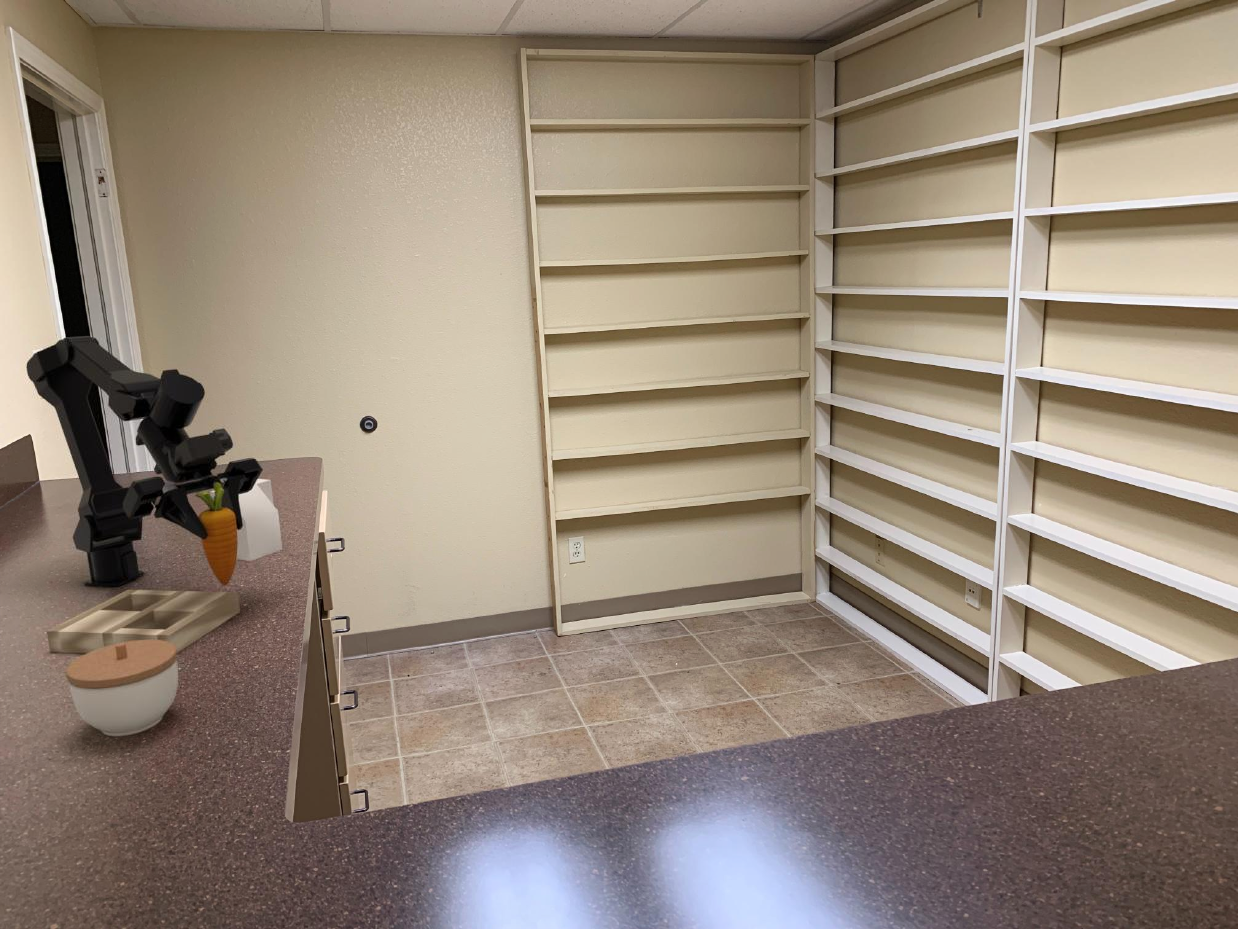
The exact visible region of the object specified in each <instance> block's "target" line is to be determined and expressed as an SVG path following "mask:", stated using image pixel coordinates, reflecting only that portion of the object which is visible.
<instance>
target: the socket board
mask: <svg viewBox="0 0 1238 929" xmlns="http://www.w3.org/2000/svg"><path fill="white" fill-rule="evenodd" d="M240 606H241V605H240V600H239V592H237V591H236V592H232V591H197V590H196V591H195V590H193V591H192V590H191V591H190V590H189V591H188V590H187V591H186V590H158V589H156V590H154V589H153V590H151V589H148V590H147V589H127V590H125V591H122V592H121V593H119V594H117V595H115V596H113V597H111V598H109V599H107V600H105V601H103V602H101V603H99V604H97V605H95V606H94V607H90V608H89V609H88V610H85V611H83V612H82V613H80V614H78V615H76V616H74V617H72V618H69V619H68V620H66V621H64V622H61V623H60V624H58V625H56V626H54V627H52V628H50V629H47V630H46V636H47V641H48V646H49V652H50V653H68V654H87V653H89V652H92V651H94V650H97V649H100V648H103V647H106V646H109V645H113V644H118V643H122V642H128V641H136V640H162V641H167V642H170V643H172V644H173V645H174V646H175V647H176V650H177V654H178V653H180V652H181V651H184V649H186V648H188V647H189V646H190V645H192V644H193V643H195V642H196V641H198V640H200V639H201V638H202V637H204V636H206V635H207V634H209V633H210V632H212V631H213V630H215V629H216V628H218V627H219V626H221V625H223V624H224V623H225V622H226V621H229V620H230V619H231V618H233V617H234V616H236V615H237V614H239V613H240V612H241V607H240Z"/></svg>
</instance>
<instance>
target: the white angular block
mask: <svg viewBox="0 0 1238 929" xmlns="http://www.w3.org/2000/svg"><path fill="white" fill-rule="evenodd" d="M209 494H210V496H211V497H212V498H213V501H214V496H215V491H214V490H212V491H211V490H210V491H209ZM239 504H240V510H241V516H242V523H243V527H242V528H241V530H238V529H237V541H238V545H237V558H236V560H240V561H247V562H253V561H254V560H257V559H260V558H262V557H266V556H268V555H271V554H275V553H276V552H279V551H282V550H283V543H282V535H281V534H282V533H281V526H280V517H279V510H278V509H277V508H276V507H275V505H274V498H273V487H272V479H266V478H265V479H263V478H258V479H257V481H256V483H255V485H254V486H253V488H252V490H250V491H249V492H247V493H243V494H239Z"/></svg>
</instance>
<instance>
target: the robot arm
mask: <svg viewBox="0 0 1238 929" xmlns="http://www.w3.org/2000/svg"><path fill="white" fill-rule="evenodd" d="M26 373H27V376H28V379H29V380H30V381H31V382H32V383H33V385H34V388H35V390H36V393H37V394H38V396H40V398H42V399H43V400H45V401H46V402H47V403H48V404H49V405H51V406H52V407H53V408H54V410H55V413H56V414H57V418H58V420H59V424H60V427H61V430H62V432H63V435H64V438H65V441H66V443H67V447H68V450H69V453H70V455H71V459H72V462H73V464H74V468H75V471H76V473H77V476H78V479H79V483H80V485H81V489H82V494H81V498H80V501H79V504H78V508H77V512H78V518H79V520H78V522H77V524H76V527H75V529H74V532H73V535H72V540H73V543H74V545H75V546H74V547H75V549H76V550H78V551H82V552H85V553H86V557H87V561H88V562H87V563H88V568H89V575H90V579H88V580H87V581H84V582H83V583H84V586H94V587H95V586H97V587H99V586H100V587H101V586H102V587H103V586H104V587H118V586H119V587H120V586H121V585H124V584H126V583H128V582H130V581H132V580H134V579H136V578H138V577H140V576H142V575H144V574H145V572H144V570H139V564H138V556H137V552H136V550H134V544H133V542H135V541H141V540H142V535H143V518H144V517H148V516H151V514H152V513H153V510H154V509H155V512H154V513H153V516H154V518H155V519H161V518H162V519H164V520H167V521H168V522H171V523H172V524H175V525H177V526H178V527H181V528H183V529H184V530H186V531H188V532H189V533H191V534H193V535H195V536H197V538H200V539H206V538H207V536H208V533H207V531H206V529H205V527H204V525H203V524H202V522H201V521H200V519H199V515H198V514H197V513H196V512H195V510H194V508H193V506H192V505H191V503H190V502H189V497H188V495H191V494H192V495H193V494H196V493H197V492H199V493H201V492H204V491H211V490H214V483H216V482H218V483H220V484H221V488H222V489H223V490H224V493H223V496H222V501H221V508H229V509H230V510H231V511H233V512H234V514H235V517H236V526H237V529H238V530H241V528H242V527H243V523H242V516H241V510H240V504H239V494H243V493H247V492H249V491H250V490H252V488H253V486H254V485H255V483H256V481H257V479H259V477H260V475H261V473H262V472H263V470H264V469H263V467H262V465H261V464H260V462H259V461H258V460H257V459H256V458H253V457H246V458H241V459H237V460H231V461H229V462H228V464H227V466H226V468H225V470H224V472H219V473H212V470H215V469H216V468H217V465H218V462H217V461H216V459H218V458H219V457H223V456H225V455H226V453H227V452H229V450H231V449H232V448H233V446H234V443H233V440H232V437H231V435H230V434H229V433H228V431H227V430H226V429H225V428H223V427H222V428H217V429H213V430H212V432H209V433H208V434H203V435H197V436H192V437H190V436H189V434H188V432H187V431H186V429H185V428H187V427H189V426H190V425H191V424H192V423H193V421H194V419H195V417H196V415H197V412H198V410H199V409H200V407H201V404H202V402H203V400H204V398H205V395H206V393H205V387H204V385H202V383H201V382H198V381H197V380H196V379H195V378H193V377H190V376H188V375H185V374H181V373H180V371H179V370H178V369H177V368H173V369H172V368H171V369H165V370H162V373H161V375H160V378H159V377H157V376H155V375H154V374H150V373H146V372H140V371H136V370H133V369H131V368H130V367H128V366H127V365H125V364H124V363H123V362H122V361H121V360H119V359H118V358H117V357H115V356H114V355H113V354H112V353H110V351H108V350H107V349H106V348H104V347H103V346H101V345H100V342H99V341H98V339H97V338H96V337H93V336H90V335H85V336H71V337H63V338H62V339H59V340H58V341H56V343H54V344H53V345H50V346H48V347H45V348H43V349H40V350H38V351H37V352H34V353H33V355H32V357H30V358H29V359H28V360H27V362H26ZM93 383H94V384H95V385H96V386H97V387H98V388H100V390H102V391H103V392H104V393H106V395H107V396H108V402H107V403H108V404H107V406H108V408H110V409H111V410H112V412H113V413H114V414H115V415H116V416H117V417H118V418H119V419H120V420H121V421H123V422H130V421H138V420H141V421H140V422H139V425H138V427H137V429H136V433H137V434H136V435H135V445H136V447H137V446H139V447H140V446H145V448H146V449H147V451H148V453H149V455H150V456H151V458H152V459H153V461H154V462H155V466H154V467H153V470H154V472H155V474H156V475H161V474H162V476H163V477H164V479H165V480H164V479H163V477H161V476H151V477H148V478H142V479H137V480H133V481H132V482H131V483H130V485H129V486H128V487H123V485H121V484H120V483H119V482H117V481H116V479H115V475H114V473H113V470H112V467H111V464H110V461H109V459H108V455H107V453H106V449H105V446H104V443H103V441H102V437H101V435H100V431H99V429H98V426H97V424H96V421H95V417H94V415H93V411H92V408H91V406H90V402H89V399H88V398H89V393H90V391H91V387H92V386H93V385H92V384H93Z"/></svg>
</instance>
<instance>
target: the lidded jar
mask: <svg viewBox="0 0 1238 929" xmlns="http://www.w3.org/2000/svg"><path fill="white" fill-rule="evenodd" d="M177 660H178V653H177V650H176V647H175V646H174V645H173V644H172V643H170V642H167V641H162V640H136V641H128V642H122V643H118V644H113V645H109V646H106V647H103V648H100V649H97V650H94V651H92V652H89V653H84V654H83V655H81V656H80V657H78V658H76V659H75V660H73V661H72V662H71V663H70V664H69V665H68V666H67V668H66V671H65V675H66V679H67V682H68V683H69V684H68V685H69V689H70V694H71V698H72V701H73V704H74V706H75V708H76V710H77V713H78V714H79V715H80V717H81V718H82V719H83V720H84V722H86V723H87V724H88V725H89V726H90V727H93V728H94V729H96V730H99V731H100V732H101V733H102V734H103V735H105V736H108V737H126V736H131V735H136V734H138V733H141V732H144V731H147V730H150V729H151V728H153V727H155V726H156V725H158V724H159V723H160V722H161V721H162V720H163V717H164V715H165V714H166V713H167V712H168V711H169V709H170V707H171V706H172V704H173V703H174V700H175V699H176V694H177V691H178V686H179V668H178V661H177Z"/></svg>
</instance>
